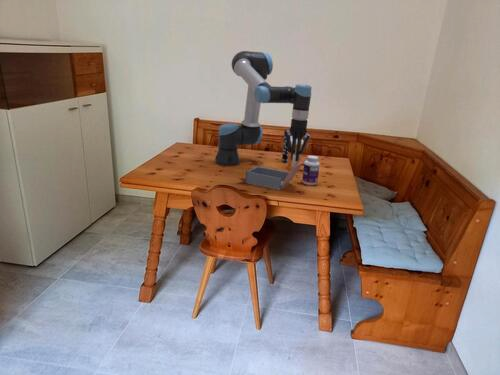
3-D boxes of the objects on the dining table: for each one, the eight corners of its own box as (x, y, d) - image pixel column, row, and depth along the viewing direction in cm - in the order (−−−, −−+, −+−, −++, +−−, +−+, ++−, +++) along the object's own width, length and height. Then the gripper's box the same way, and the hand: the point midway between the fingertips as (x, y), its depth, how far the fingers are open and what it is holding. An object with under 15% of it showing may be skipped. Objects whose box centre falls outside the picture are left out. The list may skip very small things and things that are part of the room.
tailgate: (279, 187, 170) (292, 167, 164) (289, 180, 182) (301, 161, 176) (281, 188, 170) (294, 168, 164) (291, 181, 182) (303, 162, 176)
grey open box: (245, 182, 179) (245, 171, 177) (256, 176, 190) (257, 166, 188) (279, 190, 171) (280, 178, 169) (288, 183, 182) (290, 172, 180)
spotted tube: (296, 161, 226) (299, 130, 219) (293, 164, 219) (296, 132, 212) (283, 159, 228) (286, 129, 222) (280, 162, 221) (283, 131, 214)
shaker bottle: (300, 171, 204) (303, 137, 198) (284, 169, 206) (288, 136, 199) (300, 167, 213) (304, 135, 206) (286, 165, 214) (289, 133, 207)
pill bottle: (300, 180, 188) (303, 154, 183) (314, 181, 189) (318, 155, 184) (303, 185, 180) (306, 158, 175) (318, 186, 181) (322, 159, 176)
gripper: (283, 117, 163) (278, 166, 171) (310, 121, 157) (303, 171, 165) (289, 116, 169) (284, 162, 177) (315, 119, 164) (308, 167, 172)
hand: (293, 167), depth 171 cm, fingers closed
